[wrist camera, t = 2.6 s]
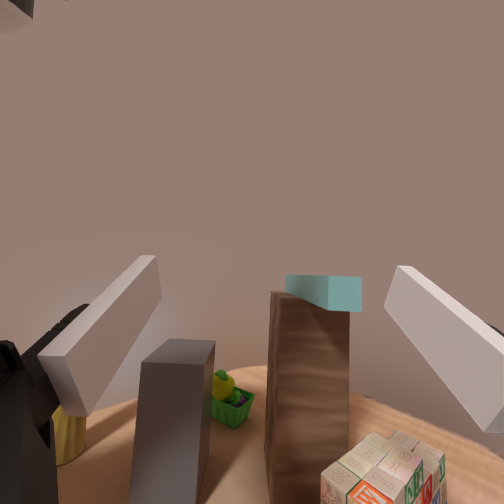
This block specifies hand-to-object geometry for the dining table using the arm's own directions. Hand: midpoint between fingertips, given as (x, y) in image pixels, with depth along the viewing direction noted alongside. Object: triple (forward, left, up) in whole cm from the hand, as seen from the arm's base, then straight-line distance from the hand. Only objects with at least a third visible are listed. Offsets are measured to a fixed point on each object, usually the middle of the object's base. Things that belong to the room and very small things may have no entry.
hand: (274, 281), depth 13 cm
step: (-27, +14, -33) cm, 45 cm away
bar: (-9, +24, -3) cm, 26 cm away
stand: (-11, +27, -33) cm, 44 cm away
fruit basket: (-32, +31, -33) cm, 56 cm away
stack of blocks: (+2, +26, -33) cm, 42 cm away
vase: (-45, +4, -33) cm, 56 cm away
